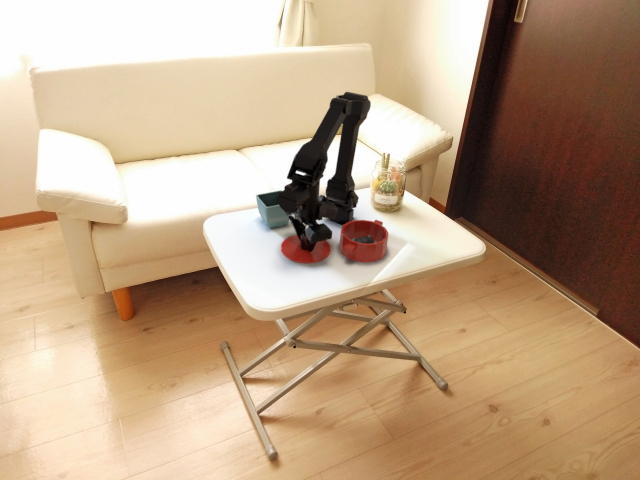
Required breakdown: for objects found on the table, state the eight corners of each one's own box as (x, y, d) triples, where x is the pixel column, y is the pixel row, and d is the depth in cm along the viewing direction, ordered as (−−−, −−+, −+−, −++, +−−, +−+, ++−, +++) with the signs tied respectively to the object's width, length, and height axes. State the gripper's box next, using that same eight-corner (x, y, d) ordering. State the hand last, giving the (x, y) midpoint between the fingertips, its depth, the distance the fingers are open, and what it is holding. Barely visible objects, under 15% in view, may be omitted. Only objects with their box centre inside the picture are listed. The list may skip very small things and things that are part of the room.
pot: (325, 257, 127) (327, 238, 124) (358, 229, 140) (360, 211, 137) (367, 274, 121) (370, 254, 118) (396, 244, 135) (400, 225, 131)
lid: (270, 252, 127) (270, 236, 124) (299, 232, 138) (300, 216, 134) (312, 271, 121) (313, 254, 118) (339, 248, 131) (341, 231, 128)
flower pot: (266, 233, 136) (266, 207, 131) (255, 220, 142) (255, 194, 137) (293, 228, 139) (293, 202, 134) (281, 214, 146) (282, 189, 141)
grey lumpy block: (356, 255, 128) (357, 242, 126) (349, 248, 131) (350, 235, 129) (375, 250, 131) (377, 238, 128) (368, 243, 134) (370, 231, 131)
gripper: (352, 207, 116) (346, 257, 125) (319, 178, 130) (316, 224, 139) (313, 215, 112) (310, 266, 120) (283, 184, 126) (283, 232, 134)
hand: (305, 246), depth 128 cm, fingers open, 6 cm apart
